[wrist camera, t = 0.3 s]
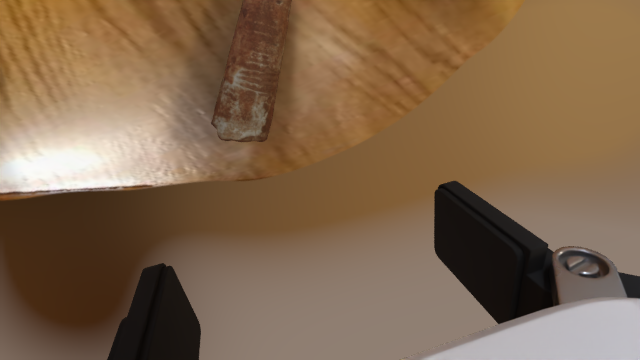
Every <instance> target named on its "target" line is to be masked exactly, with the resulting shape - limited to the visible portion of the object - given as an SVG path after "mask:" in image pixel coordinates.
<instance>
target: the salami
mask: <svg viewBox="0 0 640 360" xmlns="http://www.w3.org/2000/svg"><path fill="white" fill-rule="evenodd" d="M290 7H291V0H244V1H243V5H242V8H241V12H240V15H239V19H238V22H237V26H236V30H235V33H234V37H233V41H232V45H231V49H230V52H229V57H228V61H227V66H226V69H225V74H224V77H223V80H222V83H221V87H220V90H219V94H218V98H217V102H216V106H215V110H214V115H213V119H212V122H211V124H212V125H213V126H214V127H215V128H216V129H217V135H218V137H219V138H220V139H221V140H224V141H230V140H233V141H238V142H250V141H258V142H263V141H265V140H267V136H268V133H269V129H270V126H271V121H272V116H273V110H274V103H275V97H276V92H277V86H278V78H279V74H280V69H281V63H282V57H283V51H284V46H285V40H286V33H287V28H288V21H289V12H290Z"/></svg>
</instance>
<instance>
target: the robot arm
mask: <svg viewBox="0 0 640 360" xmlns="http://www.w3.org/2000/svg"><path fill="white" fill-rule="evenodd" d="M434 218H435V219H434V222H435V223H434V225H435V226H434V228H435V229H434V236H435V237H434V239H435V240H434V244H435V245H434V248H435V252H436V254H437V256H438V257H439V259H440V260H441V261H442V262H443V263H444V264H445V265H446V266H447V267H448V268H449V270H450V271H451V272H452V273H453V274H454V275H455V276H456V277H457V279H458V280H459V281H460V282H461V283H462V284H463V285H464V286H465V287H466V288H467V290H468V291H469V292H470V293H471V294H472V295H473V296H474V297H475V298H476V300H477V301H478V302H479V303H480V304H481V305H482V306H483V307H484V308H485V309H486V311H487V312H488V313H489V314H490V315H491V316H492V317H493V318H494V320H495V321H496V322H497V323H498V325H495V326H493V327H490V328H487V329H484V330H482V331H479V332H476V333H473V334H470V335H467V336H465V337H462V338H459V339H456V340H454V341H451V342H448V343H445V344H442V345H440V346H437V347H434V348H431V349H429V350H426V351H423V352H420V353H417V354H415V355H412V356H409V357H406V358H404V359H401V360H640V276H634V275H629V274H625V273H619V272H618V271H617V268H616V267H615V265H614V264H613V262H612V261H610V260H609V259H608V258H607V257H606V256H604V255H602V254H600V253H598V252H596V251H593V250H590V249H587V248H582V247H574V246H568V247H562V248H559V249H557V250H556V251H555V252H553V251H551V250H550V249H548V244H547V243H546V242H544V241H543V240H541V239H540V238H538V237H537V236H535V235H534V234H533V233H531V232H530V231H528V230H527V229H525V228H524V227H522V226H521V225H519V224H518V223H517V222H515V221H514V220H512V219H511V218H509V217H508V216H506V215H505V214H503V213H502V212H501V211H499V210H498V209H496V208H495V207H493V206H492V205H491V204H489V203H488V202H486V201H485V200H483V199H482V198H480V197H479V196H478V195H476V194H475V193H473V192H472V191H470V190H469V189H467V188H466V187H464V186H463V185H462V184H460V183H458V182H457V181H451V182H448V183H444V184H441V185H439V187H438V190H436V191H435V217H434ZM200 335H201V329H200V324H199V321H198V319H197V317H196V315H195V313H194V311H193V309H192V307H191V304H190V302H189V300H188V298H187V296H186V294H185V292H184V290H183V288H182V286H181V284H180V282H179V280H178V278H177V276H176V273H175V271H174V269H173V268H172V266H167V267H166V265H165V264H164V263H162V264H158V265H154V266H151V267H147V268H145V269H143V271H142V274H141V277H140V280H139V283H138V286H137V289H136V292H135V295H134V298H133V301H132V304H131V307H130V310H129V313H128V316H127V317H125V318H124V319H123V320H122V321H121V323H120V325H119V328H118V331H117V334H116V337H115V339H114V342H113V345H112V348H111V351H110V354H109V357H108V359H107V360H199V348H200Z"/></svg>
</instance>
